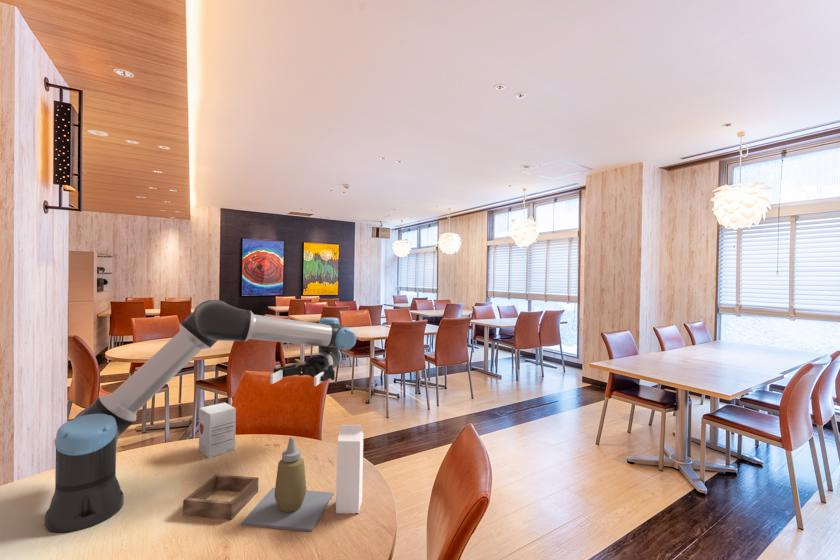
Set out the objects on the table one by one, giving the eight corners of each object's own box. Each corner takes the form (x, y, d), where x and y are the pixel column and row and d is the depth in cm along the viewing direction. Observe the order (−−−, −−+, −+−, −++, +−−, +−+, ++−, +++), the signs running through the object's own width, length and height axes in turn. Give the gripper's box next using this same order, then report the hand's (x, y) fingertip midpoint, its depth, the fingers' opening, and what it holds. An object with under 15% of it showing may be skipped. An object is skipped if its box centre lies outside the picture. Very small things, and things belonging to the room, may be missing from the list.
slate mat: (241, 525, 95) (241, 522, 95) (272, 489, 111) (272, 487, 111) (311, 531, 93) (311, 529, 93) (333, 494, 109) (333, 492, 109)
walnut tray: (182, 515, 98) (183, 499, 98) (215, 488, 111) (215, 474, 111) (231, 520, 97) (231, 504, 97) (258, 491, 110) (258, 477, 110)
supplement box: (197, 450, 135) (198, 407, 134) (224, 442, 141) (225, 401, 141) (208, 458, 129) (209, 413, 129) (235, 450, 136) (236, 407, 135)
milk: (340, 500, 106) (341, 420, 106) (362, 500, 106) (363, 420, 106) (335, 513, 100) (337, 428, 100) (359, 514, 100) (360, 429, 100)
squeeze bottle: (296, 517, 97) (297, 446, 97) (267, 513, 99) (268, 442, 99) (311, 499, 105) (313, 433, 105) (284, 495, 107) (286, 430, 107)
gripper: (353, 377, 136) (333, 395, 115) (285, 373, 139) (253, 390, 117) (353, 355, 136) (333, 369, 115) (285, 352, 139) (254, 366, 117)
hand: (293, 380), depth 116 cm, fingers open, 13 cm apart
